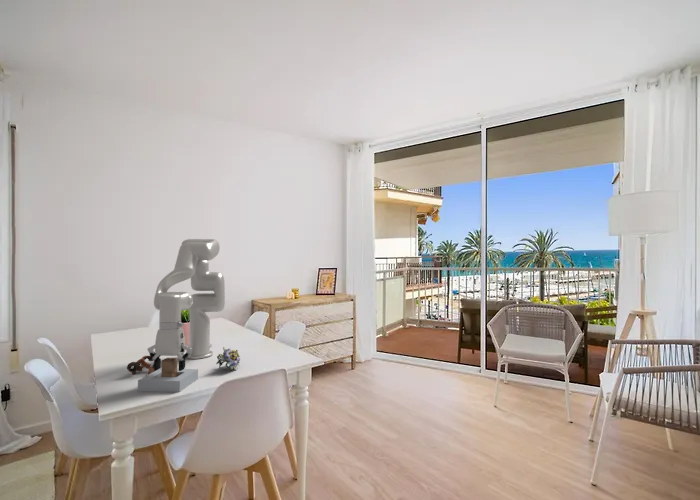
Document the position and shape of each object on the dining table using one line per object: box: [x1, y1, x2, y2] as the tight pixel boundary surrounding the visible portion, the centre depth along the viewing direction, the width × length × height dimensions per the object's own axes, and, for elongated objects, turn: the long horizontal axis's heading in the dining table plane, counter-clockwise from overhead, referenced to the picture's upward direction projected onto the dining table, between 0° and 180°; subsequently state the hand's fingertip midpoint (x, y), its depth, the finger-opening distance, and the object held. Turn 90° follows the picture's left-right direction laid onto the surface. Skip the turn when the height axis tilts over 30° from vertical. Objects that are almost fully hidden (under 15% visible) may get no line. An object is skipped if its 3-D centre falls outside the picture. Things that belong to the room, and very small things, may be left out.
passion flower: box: [215, 347, 241, 371], centre depth 156 cm, size 11×11×12 cm
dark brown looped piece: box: [126, 355, 155, 375], centre depth 149 cm, size 12×10×8 cm
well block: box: [137, 368, 199, 393], centre depth 136 cm, size 14×16×4 cm
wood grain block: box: [161, 357, 178, 377], centre depth 136 cm, size 4×4×10 cm
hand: (169, 369), depth 136 cm, fingers open, 9 cm apart
